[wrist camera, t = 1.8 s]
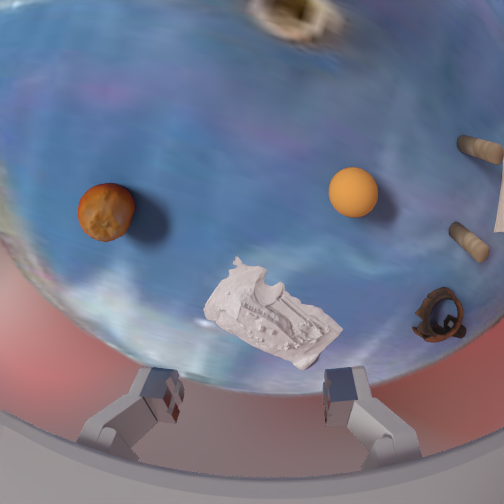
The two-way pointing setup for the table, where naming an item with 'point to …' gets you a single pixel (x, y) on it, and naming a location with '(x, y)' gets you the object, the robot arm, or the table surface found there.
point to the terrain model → (270, 316)
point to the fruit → (106, 211)
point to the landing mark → (500, 208)
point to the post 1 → (481, 149)
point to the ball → (353, 192)
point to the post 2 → (469, 242)
